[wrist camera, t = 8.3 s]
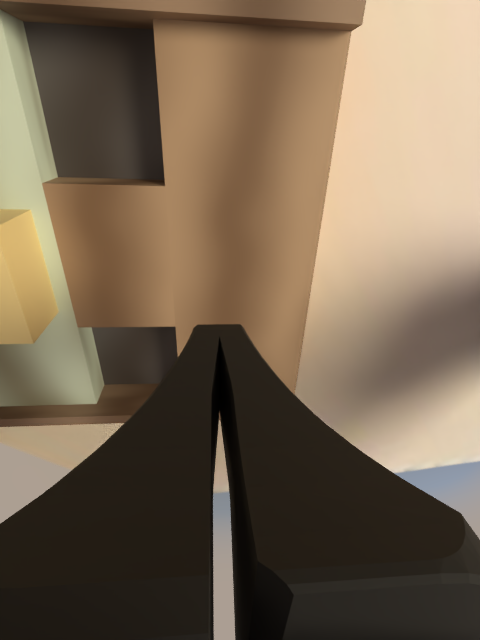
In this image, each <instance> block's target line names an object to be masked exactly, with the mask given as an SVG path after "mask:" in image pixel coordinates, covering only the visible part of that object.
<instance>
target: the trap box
mask: <svg viewBox="0 0 480 640" xmlns="http://www.w3.org/2000/svg"><path fill="white" fill-rule="evenodd" d="M365 4H366V0H0V209H28V210H31V212H32V216H33V220H34V223H35V227H36V231H37V234H38V238H39V242H40V245H41V249H42V253H43V256H44V260H45V263H46V267H47V271H48V274H49V278H50V282H51V285H52V289H53V293H54V296H55V300H56V303H57V307H58V311H59V312H58V314H57V315H56V316H55V317H54V319H53V320H52V321H51V322H50V324H49V325H48V326H47V327H46V329H45V330H44V331H43V333H42V334H41V335H40V336H39V338H38V339H37V340H36V341H35V343H34V344H0V427H10V426H42V425H73V424H105V423H125V422H126V421H127V420H128V419H129V418H130V417H131V416H132V415H133V414H134V413H135V412H136V411H137V410H138V409H139V408H140V407H141V405H142V404H143V403H144V402H145V401H146V400H147V399H148V397H149V396H150V395H151V394H152V393H153V391H154V390H155V389H156V388H157V386H158V385H159V384H160V382H161V381H162V380H163V378H164V377H165V376H166V374H167V373H168V372H169V370H170V369H171V367H172V366H173V364H174V363H175V361H176V360H177V358H178V357H179V355H180V353H181V352H182V350H183V348H184V347H185V345H186V343H187V341H188V339H189V337H190V335H191V333H192V331H193V328H194V327H195V326H196V325H203V324H241V325H242V326H243V327H244V329H245V331H246V333H247V335H248V336H249V338H250V339H251V341H252V343H253V344H254V346H255V347H256V349H257V350H258V351H259V353H260V354H261V356H262V357H263V358H264V360H265V361H266V362H267V363H268V365H269V366H270V367H271V369H272V370H273V371H274V372H275V374H276V375H277V376H278V377H279V378H280V379H281V381H282V382H283V383H284V384H285V385H286V386H287V387H288V388H289V390H290V391H291V392H292V393H293V394H294V393H295V387H296V381H297V374H298V368H299V361H300V355H301V349H302V342H303V336H304V330H305V323H306V317H307V310H308V304H309V298H310V291H311V285H312V279H313V272H314V266H315V259H316V253H317V247H318V240H319V234H320V228H321V221H322V215H323V209H324V202H325V196H326V189H327V183H328V177H329V170H330V164H331V158H332V151H333V145H334V138H335V132H336V126H337V119H338V113H339V107H340V100H341V94H342V87H343V81H344V75H345V68H346V62H347V56H348V49H349V43H350V36H351V31H352V30H354V29H356V28H357V27H359V26H360V25H362V22H363V16H364V10H365ZM219 420H221V419H220V411H219Z"/></svg>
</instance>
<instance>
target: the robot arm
mask: <svg viewBox="0 0 480 640" xmlns="http://www.w3.org/2000/svg"><path fill="white" fill-rule="evenodd" d="M219 411H220V419H221V427H222V435H223V443H224V450H225V458H226V466H227V474H228V481H229V492H230V507H231V531H232V554H233V555H232V556H233V581H234V582H233V583H234V610H235V611H234V612H235V636H236V637H235V638H236V640H480V540H479V538H478V537H477V535H476V534H475V533H474V531H473V530H472V528H471V527H470V526H469V524H468V523H467V522H466V520H465V519H464V517H463V516H462V514H461V513H459V512H458V511H456V510H454V509H452V508H451V507H449V506H447V505H446V504H444V503H442V502H441V501H439V500H437V499H436V498H434V497H432V496H430V495H428V494H427V493H425V492H424V491H422V490H420V489H418V488H417V487H415V486H413V485H412V484H410V483H408V482H407V481H405V480H403V479H402V478H400V477H399V476H397V475H395V474H394V473H392V472H391V471H389V470H388V469H386V468H385V467H383V466H382V465H380V464H379V463H378V462H376V461H375V460H373V459H372V458H370V457H369V456H367V455H366V454H364V453H363V452H362V451H360V450H359V449H357V448H356V447H355V446H353V445H352V444H351V443H349V442H348V441H347V440H346V439H344V438H343V437H342V436H340V435H339V434H338V433H337V432H335V431H334V430H333V429H331V428H330V427H329V426H328V425H326V424H325V423H324V422H323V421H322V420H321V419H319V418H318V417H317V416H316V415H315V414H314V413H313V412H312V411H311V410H309V409H308V408H307V407H306V406H305V405H304V404H303V403H302V402H301V401H300V400H299V399H298V398H297V397H296V396H295V395H294V394H293V393H292V392H291V391H290V390H289V388H288V387H287V386H286V385H285V384H284V383H283V382H282V381H281V379H280V378H279V377H278V376H277V375H276V374H275V372H274V371H273V370H272V369H271V367H270V366H269V365H268V363H267V362H266V361H265V360H264V358H263V357H262V356H261V354H260V353H259V351H258V350H257V349H256V347H255V346H254V344H253V343H252V341H251V339H250V338H249V336H248V335H247V333H246V331H245V329H244V327H243V326H242V325H241V324H203V325H196V326H195V327H194V328H193V331H192V333H191V335H190V337H189V339H188V341H187V343H186V345H185V347H184V348H183V350H182V352H181V353H180V355H179V357H178V358H177V360H176V361H175V363H174V364H173V366H172V367H171V369H170V370H169V372H168V373H167V374H166V376H165V377H164V378H163V380H162V381H161V382H160V384H159V385H158V386H157V388H156V389H155V390H154V391H153V393H152V394H151V395H150V396H149V397H148V399H147V400H146V401H145V402H144V403H143V404H142V405H141V407H140V408H139V409H138V410H137V411H136V412H135V413H134V414H133V415H132V416H131V417H130V418H129V419H128V420H127V421H126V422H125V423H124V424H123V425H122V426H121V427H120V428H119V429H118V430H117V431H116V432H115V433H114V434H113V435H112V436H111V437H110V438H109V439H108V440H107V441H106V442H105V443H104V444H103V445H101V446H100V447H99V448H98V449H97V450H96V451H95V452H94V453H92V454H91V455H90V456H89V457H88V458H86V459H85V460H84V461H83V462H82V463H80V464H79V465H78V466H77V467H75V468H74V469H73V470H72V471H71V472H69V473H68V474H67V475H66V476H65V477H63V478H62V479H61V480H60V481H59V482H57V483H56V484H55V485H53V487H51V488H50V489H48V490H47V491H46V492H44V493H43V494H42V495H41V496H39V497H38V498H36V499H35V500H33V501H32V502H31V503H29V504H28V505H26V506H25V507H23V508H22V509H21V510H19V511H18V512H16V513H15V514H14V515H12V516H11V517H9V518H8V519H6V520H5V521H4V522H2V523H1V524H0V640H214V636H213V635H214V634H213V484H214V472H215V459H216V447H217V435H218V422H219Z"/></svg>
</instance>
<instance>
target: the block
mask: <svg viewBox="0 0 480 640" xmlns="http://www.w3.org/2000/svg"><path fill="white" fill-rule="evenodd" d="M58 312H59V311H58V307H57V303H56V300H55V296H54V293H53V289H52V285H51V282H50V278H49V274H48V271H47V267H46V263H45V260H44V256H43V253H42V249H41V245H40V242H39V238H38V234H37V231H36V227H35V223H34V220H33V216H32V212H31V210H28V209H0V344H34V343H35V341H36V340H37V339H38V338H39V336H40V335H41V334H42V333H43V331H44V330H45V329H46V327H47V326H48V325H49V324H50V322H51V321H52V320H53V319H54V317H55V316H56V315H57V314H58Z"/></svg>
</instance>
